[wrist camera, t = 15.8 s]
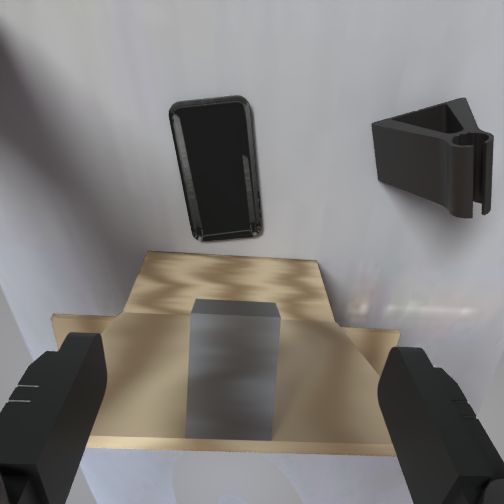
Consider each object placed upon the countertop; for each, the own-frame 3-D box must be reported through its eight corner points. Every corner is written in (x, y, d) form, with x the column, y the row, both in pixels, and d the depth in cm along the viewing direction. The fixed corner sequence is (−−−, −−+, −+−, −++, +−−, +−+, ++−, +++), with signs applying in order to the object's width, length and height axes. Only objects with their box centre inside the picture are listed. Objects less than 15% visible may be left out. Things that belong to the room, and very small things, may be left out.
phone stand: (463, 97, 38) (546, 126, 27) (463, 156, 41) (537, 202, 30) (370, 122, 39) (416, 160, 28) (376, 178, 42) (420, 230, 31)
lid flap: (8, 445, 18) (4, 304, 17) (121, 318, 35) (122, 246, 34) (433, 457, 19) (452, 325, 18) (336, 328, 37) (343, 259, 36)
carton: (109, 358, 55) (78, 436, 44) (92, 247, 45) (49, 313, 35) (339, 368, 56) (360, 444, 46) (367, 263, 47) (401, 330, 37)
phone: (193, 242, 44) (166, 104, 37) (194, 237, 45) (168, 101, 38) (262, 235, 44) (249, 95, 36) (262, 231, 45) (249, 93, 37)
